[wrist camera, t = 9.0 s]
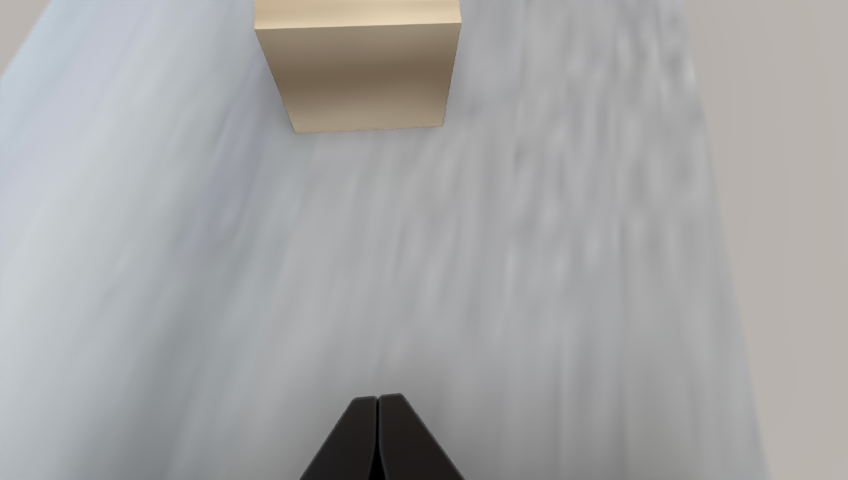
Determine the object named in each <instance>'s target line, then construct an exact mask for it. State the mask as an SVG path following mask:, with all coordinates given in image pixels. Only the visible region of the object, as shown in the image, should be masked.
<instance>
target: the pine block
mask: <svg viewBox="0 0 848 480" xmlns="http://www.w3.org/2000/svg"><path fill="white" fill-rule="evenodd" d="M461 23H462V22H461V15H460V7H459V0H255V18H254V30H255V32H256V35H257V37H258V40H259V42H260V45H261V47H262V50H263V52H264V55H265V57H266V60H267V62H268V65H269V67H270V70H271V72H272V75H273V77H274V80H275V82H276V85H277V87H278V90H279V92H280V95H281V97H282V100H283V102H284V105H285V107H286V110H287V112H288V115H289V117H290V120H291V122H292V125H293V127H294V130H295V132H296V134H299V133H319V132H339V131H359V130H379V129H399V128H420V127H440V126H442V125H443V120H444V115H445V109H446V104H447V98H448V93H449V88H450V82H451V77H452V72H453V66H454V61H455V55H456V50H457V45H458V39H459V34H460V28H461Z"/></svg>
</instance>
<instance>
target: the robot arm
mask: <svg viewBox="0 0 848 480" xmlns="http://www.w3.org/2000/svg"><path fill="white" fill-rule="evenodd" d="M300 480H465V479H464V477H463V476H462V475H461V473H460V472H459V471H458V469H457V468H456V467H455V465H454V464H453V462H452V461H451V460H450V458H449V457H448V456H447V454H446V453H445V452H444V450H443V449H442V447H441V446H440V445H439V443H438V442H437V441H436V439H435V438H434V436H433V435H432V434H431V432H430V431H429V430H428V428H427V427H426V426H425V424H424V423H423V421H422V420H421V419H420V417H419V416H418V415H417V413H416V412H415V410H414V409H413V408H412V406H411V405H410V404H409V402H408V401H407V400H406V398H405V397H404V396H403V395H402V394H400V393H397V394H387V395H381V396H380V397H379V398H378V399H377V397H375V396H367V397H358V398H354V399H353V400H352V401H351V403H350V404H349V406H348V407H347V409H346V410H345V412H344V413H343V415H342V416H341V418H340V419H339V421H338V422H337V424H336V425H335V427H334V428H333V430H332V431H331V433H330V434H329V436H328V437H327V439H326V440H325V442H324V444H323V445H322V447H321V448H320V450H319V451H318V453H317V454H316V456H315V457H314V459H313V460H312V462H311V463H310V465H309V466H308V468H307V469H306V471H305V472H304V474H303V475H302V477H301V478H300Z"/></svg>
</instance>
